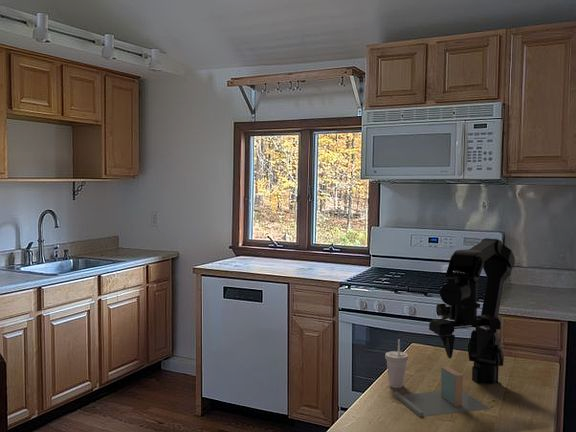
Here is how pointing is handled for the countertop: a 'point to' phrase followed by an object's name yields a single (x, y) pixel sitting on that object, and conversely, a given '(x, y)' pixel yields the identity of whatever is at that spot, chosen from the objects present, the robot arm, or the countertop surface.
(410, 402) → the slate board
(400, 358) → the smoothie
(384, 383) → the countertop surface
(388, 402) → the countertop surface
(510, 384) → the countertop surface
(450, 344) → the robot arm
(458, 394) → the tile
